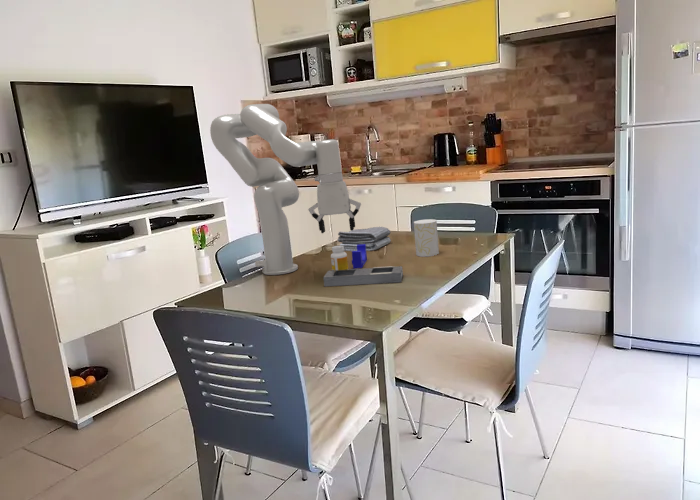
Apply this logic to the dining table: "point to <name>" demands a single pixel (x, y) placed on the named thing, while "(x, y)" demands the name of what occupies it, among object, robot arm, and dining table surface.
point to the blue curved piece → (359, 256)
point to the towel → (364, 238)
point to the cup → (426, 237)
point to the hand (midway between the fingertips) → (337, 231)
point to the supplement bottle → (339, 258)
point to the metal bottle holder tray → (363, 276)
